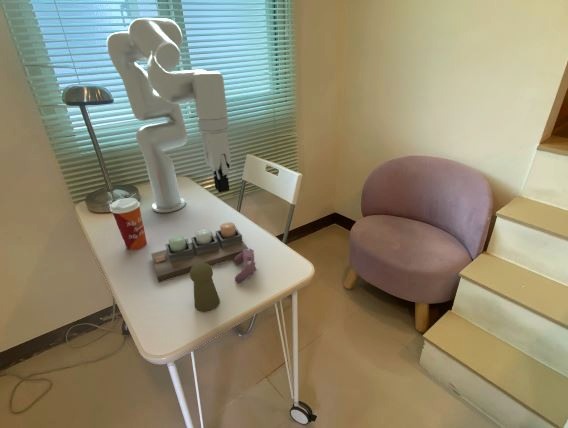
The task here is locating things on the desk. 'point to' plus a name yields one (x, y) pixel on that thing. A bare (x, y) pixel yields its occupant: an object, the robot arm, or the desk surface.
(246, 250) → the video game controller
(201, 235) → the white egg
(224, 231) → the brown egg
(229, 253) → the board
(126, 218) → the coffee cup
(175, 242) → the pale green egg
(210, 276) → the olive green skittle
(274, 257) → the desk surface
